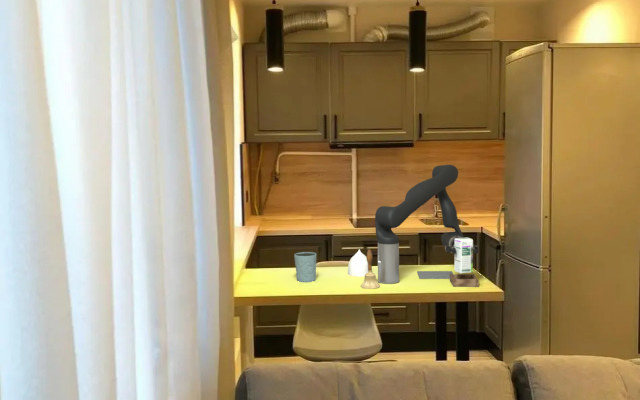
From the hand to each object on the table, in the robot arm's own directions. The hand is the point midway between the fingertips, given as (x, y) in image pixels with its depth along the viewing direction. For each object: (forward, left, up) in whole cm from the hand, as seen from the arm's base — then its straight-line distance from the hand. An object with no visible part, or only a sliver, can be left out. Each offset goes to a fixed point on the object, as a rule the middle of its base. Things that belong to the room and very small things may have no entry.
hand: (464, 251), depth 234 cm
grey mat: (-10, +17, -14) cm, 24 cm away
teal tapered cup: (-69, +8, -15) cm, 71 cm away
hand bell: (-40, -3, -15) cm, 42 cm away
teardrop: (-45, +21, -15) cm, 52 cm away
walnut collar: (0, +2, -14) cm, 14 cm away
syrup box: (0, +2, -9) cm, 10 cm away
